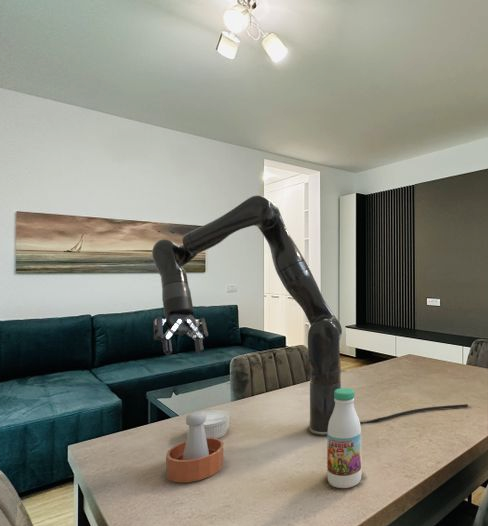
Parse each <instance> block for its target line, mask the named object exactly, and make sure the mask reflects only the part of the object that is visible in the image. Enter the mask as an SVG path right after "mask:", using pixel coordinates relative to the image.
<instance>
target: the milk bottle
mask: <svg viewBox="0 0 488 526" xmlns="http://www.w3.org/2000/svg"><path fill="white" fill-rule="evenodd" d="M334 401H335V407H334V410H333V413H332V415H331V418H330V420H329V424H328V435H326V437H327V438H326V439H327V441H326V443H327V444H326V449H327V451H326V452H327V453H326V454H327V455H326V456H327V458H326V461H327V463H326V465H327V466H326V467H327V468H326V469H327V471H326V472H327V473H326V474H327V481H328V483H329V485H330V486H332V487H334V488H338V489H350V488H353V487H355V486H357V485H358V484H359V483H360V482H361V479H362V475H363V474H362V473H363V471H362V470H363V469H362V467H363V466H362V461H363V460H362V427H361V425H362V424H360V422H361V421H360V418H359V416H358V413H357V411H356V409H355V405H354V401H355V390H354V389H353V388H350V387H341V388H340V389H336V390H335V391H334Z"/></svg>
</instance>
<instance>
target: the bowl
mask: <svg viewBox="0 0 488 526" xmlns="http://www.w3.org/2000/svg"><path fill="white" fill-rule="evenodd" d="M206 440H207V446H208V451H209V455H208V456H205V457H202V458H199V459H193V460H182V458H183V454H184V449H185V444H186V440H185V441H182V442H179V443H178V444H175V445H173V446H172V447H170V448H169V449H168V450H167V452H166V455H165V476H166V478H167V479H168V480H169V481H171V482H174V483H192V482H197V481H201V480H204V479H206V478H207V479H208V478H209V477H212V476H213V475H215V474H217V473H218V472H219V471H220V470H221V469H222V468H223V467H224V450H225V449H224V441H222V440H221V438H218V439H216V438H206Z"/></svg>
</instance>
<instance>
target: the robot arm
mask: <svg viewBox="0 0 488 526" xmlns="http://www.w3.org/2000/svg"><path fill="white" fill-rule="evenodd" d="M254 226H255V227H257V228H258V229H259V231H260V232H261V234H262V235H263V237H264V238H265V240H266V242H267V244H268V247H269V249H270V254H271V259H272V263H273V267H274V270H275V272H276V274H277V276H278V278H279V279H280V281H281V283H282V285H283V287H284V288H285V290H286V291H287V293H288V294H289V295H290V296H291V297H292V299H293V300H294V301H295V302H296V303H297V304H298V306H300V308H301V309H302V311H303V313H304V314H305V316H306V318H307V321H308V323H309V326H310V327H309V328H308V330H307V331H308V332H307V362H308V366H309V432H310V433H311V434H312V435H316V436H327V435H328V424H329V420H330V418H331V415H332V413H333V410H334V407H335V401H334V391H335V390H336V389H340V388H342V371H341V370H342V365H341V360H340V359H341V358H340V340H341V338H342V334H343V331H342V330H343V329H342V326H341V323H340V322H339V320H338V318H337V317H336V316H335V314H334V313H333V311H332V310H331V308H330V307H329V305H328V304H327V302H326V301H325V299H324V296H323V295H322V293H321V291H320V288H319V286H318V283H317V281H316V280H315V277H314V276H313V273H312V271H311V269H310V267H309V265H308V263H307V262H306V260H305V258H304V256H303V255H302V253H301V251H300V250H299V248H298V247H297V244H296V242H295V241H294V240H293V239H292V237H291V235H290V233H289V231H288V228H287V227H286V224H285V222H284V219H283V217H282V214H281V212H280V209H279V207H278V206H277V204H276V203H275V202H274V201H272V200H271V199H269V198H267V197H266V196H263V195H252V196H250V197H248V198H246V199H245V200H244V201H242V202H241V203H239V204H238V205H237V206H235V207H233V208H232V209H230V210H229V211H228V212H226V213H224V214H223V215H221V216H219V217H217V218H216V219H214V220H212V221H210V222H208V223H206V224H204V225H202V226H200V227H197V228H195V229H193V230H191V231H189V232H187V233H185V234H184V235H183V236H182V238H181V239H182V240H181V241H182V245H180V244H178V243H176V242H174V241H172V240H170V239H168V238H167V239H166V238H162V239H159V240H158V241H156V242H155V243H154V245H153V247H152V249H151V257H152V260H153V263H154V266H155V268H156V270H157V273H158V275H159V277H160V282H161V283H160V284H161V290H162V291H161V298H162V299H161V300H162V307H163V314H164V318H163V317H162V316H158V317H156V318H155V319H154V320H153V323H152V324H153V340H154V341H160V342H161V343H162V351H163V353H164V354H165V355H166V356H170V355H171V354H172V353H173V345H172V339H171V338H172V336H173V335H187V336H188V337H190V338H192V339H193V340H194V347H195V348H194V349H195V354H198V355H199V354H201V353H202V352H203V351H204V349H205V348H204V341H203V340H205V339H206V338H207V337H209V331H208V327H207V323H206V318H204V317H201V318H200V319H199V318H198V319H197V318H195V317H194V307H193V305H194V304H193V299H192V294H191V293H192V292H191V289H190V286H189V280H188V275H187V272H186V270H185V269H184V267H183V266H185V265H187V264H188V263H189V262H191V261H192V260H193V259H194V258H195V257H197V256H198V255H199V254H201V253H203V252H205V251H207V250H209V249H212V248H214V247H215V246H217V245H219V244H220V243H222V242H223V241H225V240H226V239H227V238H228V237H229V236H231V235H233V234H234V233H236V232H238V231H241V230H243V229H247V228H250V227H254ZM164 325H165V326H166V327H167V328H168V329H167V330H166V332H165V333H164ZM468 407H469V404H468V403H464V404H451V405H442V406H441V405H439V406H429V407H428V406H427V407H422V408H416V409H410V410H405V411H402V412H398V413H394V414H391V415H387V416H383V417H377V418H374V419H371V420H367V421H360V425H364V424H372V423H377V422H380V421H386V420H389V419H393V418H396V417H399V416H403V415H407V414H413V413H418V412H425V411H433V410H442V409H457V408H468Z"/></svg>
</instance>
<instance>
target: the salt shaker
mask: <svg viewBox="0 0 488 526" xmlns="http://www.w3.org/2000/svg"><path fill="white" fill-rule="evenodd" d="M205 421H206V414H205V413H204V411H202V410H197V411H196V410H195V411H191V412H190V413H188V414H187V416H186V418H185V422H186V425H187V426H188V429H187V430H188V431H187V436H186V439H185V441H186V444H185V449H184V454H183V458H182V460H193V459H199V458H202V457H205V456H208V455H209V451H208V446H207V440H206V434H205V429H204V422H205Z"/></svg>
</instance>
